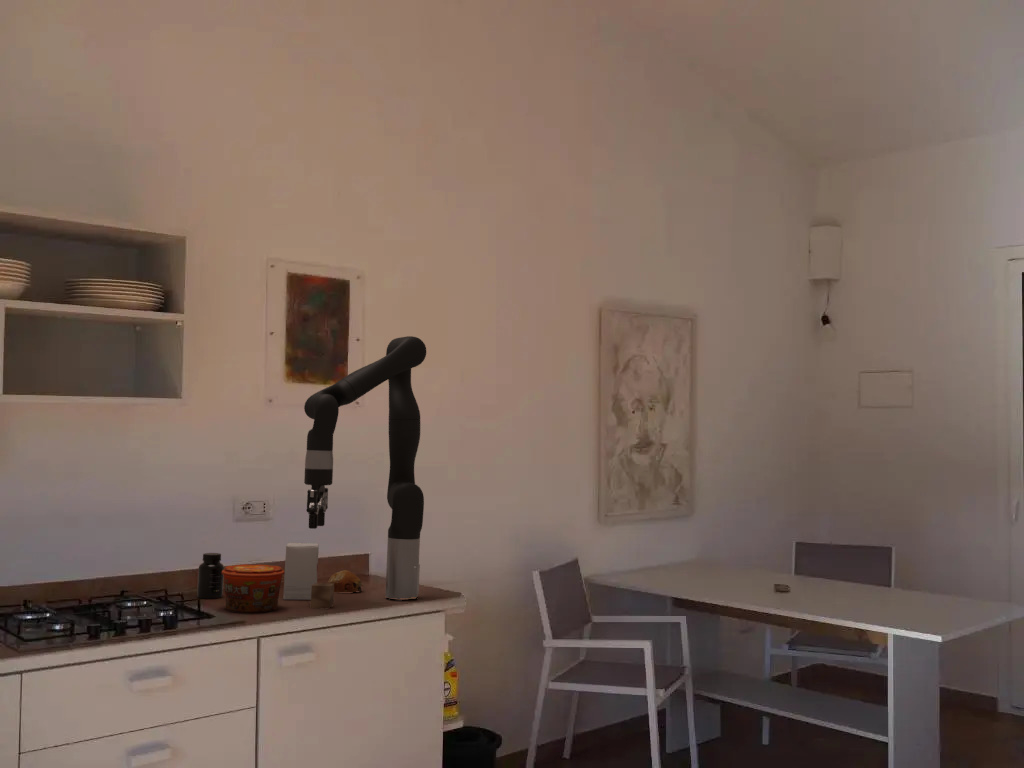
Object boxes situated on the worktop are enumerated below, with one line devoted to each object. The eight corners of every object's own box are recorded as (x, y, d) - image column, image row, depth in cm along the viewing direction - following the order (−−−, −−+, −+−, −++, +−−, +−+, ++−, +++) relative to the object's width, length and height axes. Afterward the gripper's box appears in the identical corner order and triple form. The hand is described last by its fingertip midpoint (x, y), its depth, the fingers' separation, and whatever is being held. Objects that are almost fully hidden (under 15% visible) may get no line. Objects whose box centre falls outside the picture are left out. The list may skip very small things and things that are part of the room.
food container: (241, 616, 247) (243, 573, 248) (207, 607, 258) (209, 566, 259) (295, 610, 259) (297, 568, 260) (260, 602, 270) (262, 562, 270)
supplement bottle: (192, 596, 274) (194, 553, 275) (214, 594, 279) (216, 551, 280) (205, 600, 270) (207, 555, 270) (227, 597, 275) (229, 554, 275)
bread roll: (348, 600, 300) (341, 575, 302) (371, 589, 295) (364, 563, 297) (324, 604, 292) (317, 578, 294) (347, 592, 287) (340, 566, 289)
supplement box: (315, 600, 275) (318, 546, 276) (282, 600, 274) (285, 545, 275) (316, 595, 284) (319, 542, 285) (285, 595, 283) (287, 542, 284)
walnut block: (333, 606, 268) (334, 583, 268) (329, 609, 263) (330, 586, 263) (314, 605, 268) (315, 582, 268) (310, 608, 263) (311, 585, 263)
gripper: (326, 468, 263) (324, 530, 262) (338, 467, 277) (335, 525, 276) (298, 467, 263) (296, 529, 262) (311, 466, 277) (309, 524, 276)
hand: (316, 527), depth 269 cm, fingers open, 8 cm apart
